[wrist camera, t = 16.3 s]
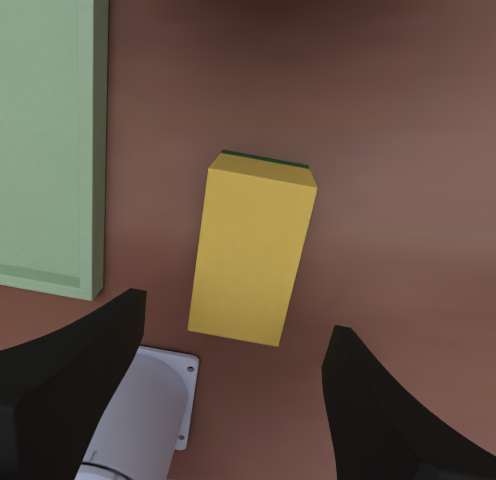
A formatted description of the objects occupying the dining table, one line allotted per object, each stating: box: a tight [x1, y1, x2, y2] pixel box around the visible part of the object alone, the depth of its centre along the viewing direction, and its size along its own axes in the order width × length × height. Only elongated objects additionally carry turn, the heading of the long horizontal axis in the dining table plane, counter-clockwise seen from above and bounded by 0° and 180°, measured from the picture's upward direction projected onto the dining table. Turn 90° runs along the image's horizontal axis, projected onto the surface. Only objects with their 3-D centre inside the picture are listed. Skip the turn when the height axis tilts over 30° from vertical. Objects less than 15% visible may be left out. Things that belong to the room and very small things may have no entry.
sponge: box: [188, 150, 318, 347], centre depth 21 cm, size 9×5×5 cm, turn 170°
